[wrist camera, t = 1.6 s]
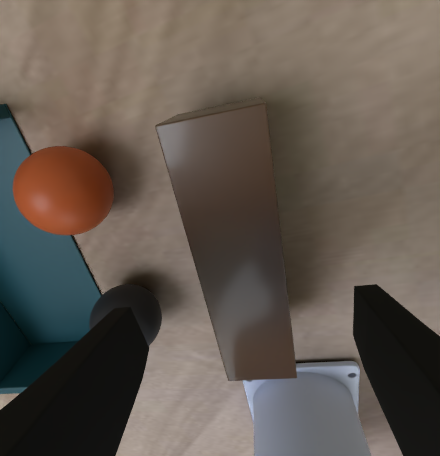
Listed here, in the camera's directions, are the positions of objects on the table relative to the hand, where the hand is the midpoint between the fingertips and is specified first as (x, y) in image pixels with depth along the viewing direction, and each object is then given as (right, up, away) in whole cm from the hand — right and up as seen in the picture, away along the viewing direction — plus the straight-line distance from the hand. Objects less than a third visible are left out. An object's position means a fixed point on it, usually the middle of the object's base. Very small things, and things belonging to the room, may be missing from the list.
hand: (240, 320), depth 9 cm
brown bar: (+1, +3, +6) cm, 7 cm away
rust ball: (-8, +5, +4) cm, 10 cm away
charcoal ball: (-6, -2, +7) cm, 10 cm away
